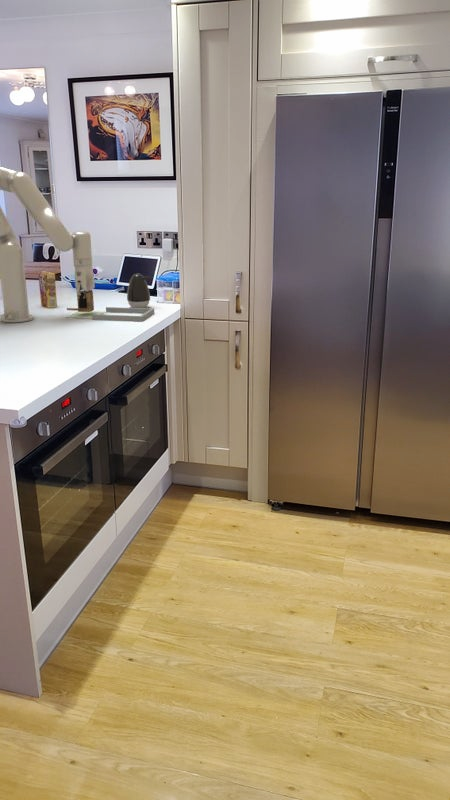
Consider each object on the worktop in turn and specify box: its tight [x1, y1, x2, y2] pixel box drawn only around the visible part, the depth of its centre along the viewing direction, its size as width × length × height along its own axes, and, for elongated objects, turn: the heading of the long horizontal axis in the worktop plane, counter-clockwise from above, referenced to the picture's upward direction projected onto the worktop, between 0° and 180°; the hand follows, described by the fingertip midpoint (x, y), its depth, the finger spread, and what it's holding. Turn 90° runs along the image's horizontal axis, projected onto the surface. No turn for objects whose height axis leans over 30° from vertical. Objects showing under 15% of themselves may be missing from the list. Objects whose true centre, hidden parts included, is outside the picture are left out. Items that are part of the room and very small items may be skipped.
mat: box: [65, 310, 107, 320], centre depth 263 cm, size 14×12×1 cm
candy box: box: [38, 270, 58, 309], centre depth 280 cm, size 9×4×15 cm, turn 39°
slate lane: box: [91, 306, 155, 322], centre depth 260 cm, size 17×21×2 cm
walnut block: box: [66, 290, 95, 312], centre depth 262 cm, size 5×11×8 cm, turn 80°
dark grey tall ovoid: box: [126, 272, 151, 308], centre depth 277 cm, size 10×10×15 cm
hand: (85, 306), depth 262 cm, fingers closed on walnut block, 5 cm apart
